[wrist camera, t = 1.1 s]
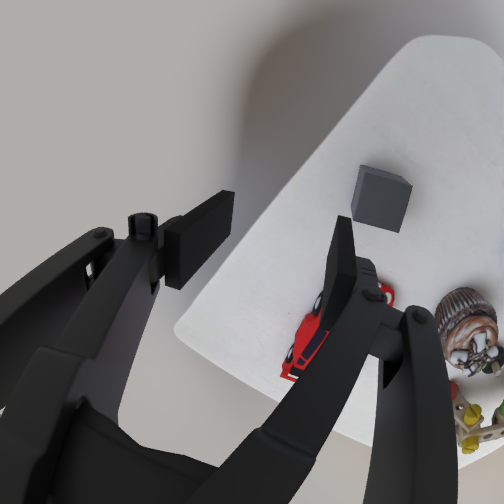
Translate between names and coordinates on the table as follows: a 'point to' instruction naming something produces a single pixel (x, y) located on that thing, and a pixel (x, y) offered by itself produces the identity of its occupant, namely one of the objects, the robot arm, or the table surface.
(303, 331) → the toy car
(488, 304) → the cupcake
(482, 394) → the table surface
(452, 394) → the toy construction set
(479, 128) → the table surface
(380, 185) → the charcoal block
